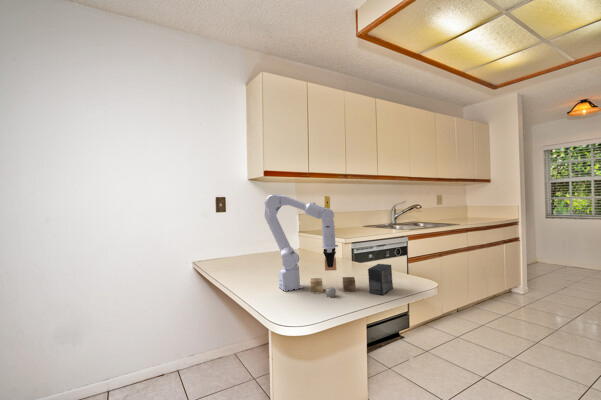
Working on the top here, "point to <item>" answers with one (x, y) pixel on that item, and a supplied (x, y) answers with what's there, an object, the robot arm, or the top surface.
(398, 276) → the top surface
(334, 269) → the terracotta block
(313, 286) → the oak block
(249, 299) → the top surface
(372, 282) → the small box
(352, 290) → the walnut block
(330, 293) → the grey tin
